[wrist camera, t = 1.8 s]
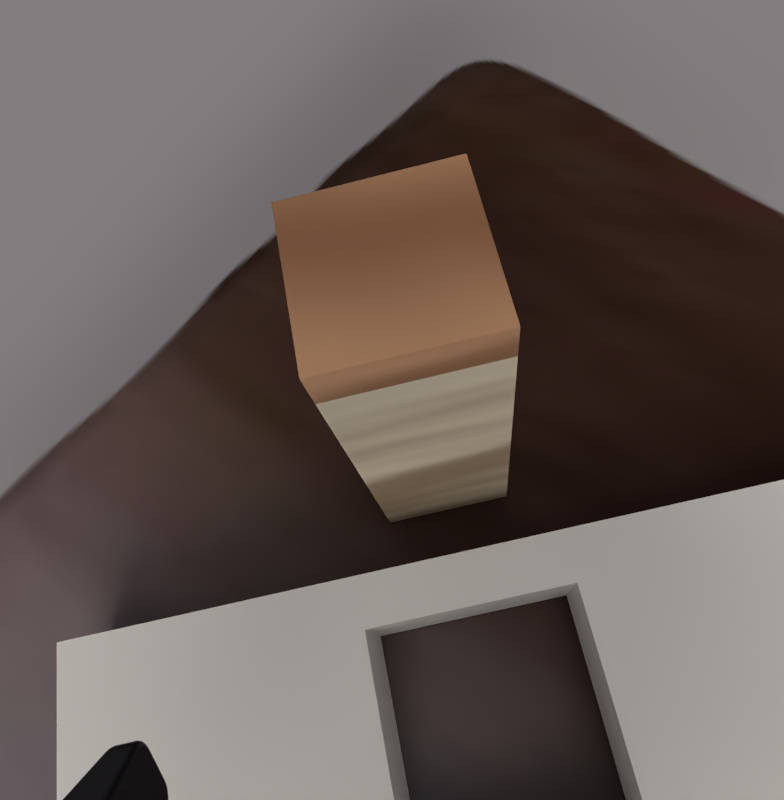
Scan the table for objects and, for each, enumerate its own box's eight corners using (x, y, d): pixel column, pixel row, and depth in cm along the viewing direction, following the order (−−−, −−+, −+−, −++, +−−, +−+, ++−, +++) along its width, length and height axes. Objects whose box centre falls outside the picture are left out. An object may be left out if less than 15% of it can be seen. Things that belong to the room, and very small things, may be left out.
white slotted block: (984, 808, 18) (1072, 831, 15) (118, 980, 19) (56, 1030, 17) (832, 485, 22) (881, 457, 19) (109, 647, 23) (56, 642, 20)
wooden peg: (506, 496, 23) (520, 326, 12) (390, 522, 23) (299, 379, 12) (477, 389, 25) (466, 153, 14) (368, 415, 25) (271, 202, 14)
